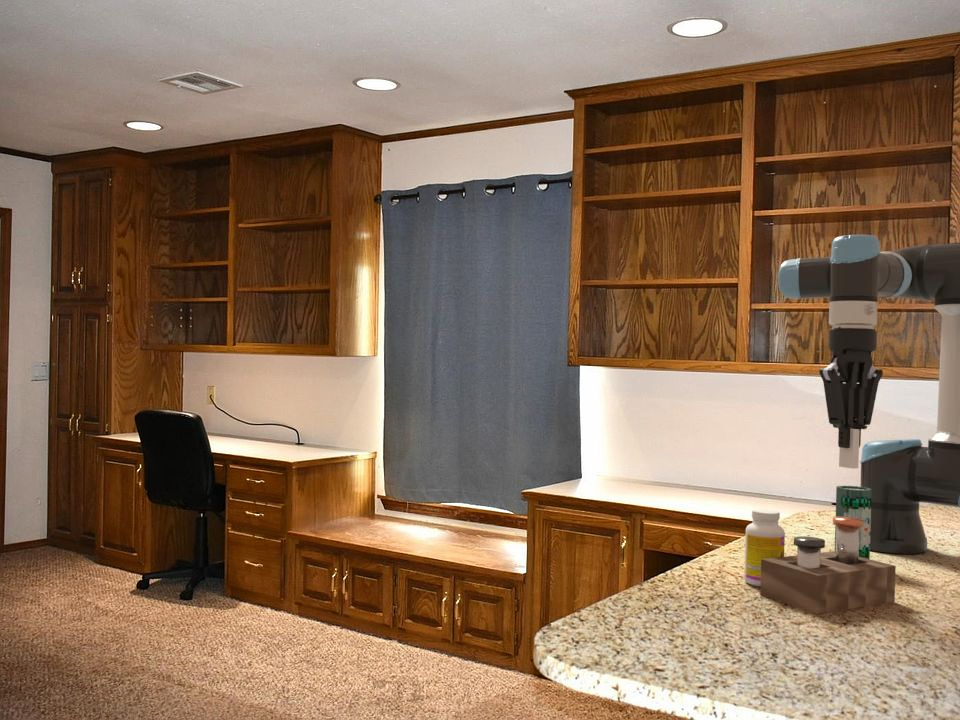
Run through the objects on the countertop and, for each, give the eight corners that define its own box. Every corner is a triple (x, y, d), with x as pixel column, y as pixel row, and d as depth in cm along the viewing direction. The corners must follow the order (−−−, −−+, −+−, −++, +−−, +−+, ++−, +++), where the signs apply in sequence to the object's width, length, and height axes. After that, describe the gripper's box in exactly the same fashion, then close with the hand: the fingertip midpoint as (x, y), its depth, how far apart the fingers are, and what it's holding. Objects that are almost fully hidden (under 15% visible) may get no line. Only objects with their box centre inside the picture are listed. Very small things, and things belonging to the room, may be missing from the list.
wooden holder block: (835, 584, 160) (836, 550, 160) (894, 602, 149) (895, 565, 149) (760, 594, 152) (761, 559, 152) (817, 614, 141) (818, 575, 141)
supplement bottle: (785, 589, 156) (787, 515, 155) (745, 586, 157) (747, 513, 157) (780, 580, 162) (782, 509, 162) (742, 577, 163) (744, 506, 163)
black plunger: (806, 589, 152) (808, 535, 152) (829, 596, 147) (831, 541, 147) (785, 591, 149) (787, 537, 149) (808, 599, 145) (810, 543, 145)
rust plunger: (844, 567, 156) (846, 515, 156) (868, 574, 152) (869, 520, 151) (825, 570, 154) (826, 517, 154) (848, 576, 149) (849, 522, 149)
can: (852, 569, 172) (854, 491, 172) (828, 562, 178) (830, 486, 178) (875, 567, 175) (878, 489, 175) (851, 560, 180) (853, 485, 180)
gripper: (843, 325, 146) (839, 471, 146) (898, 328, 152) (893, 468, 152) (807, 326, 152) (803, 466, 153) (860, 329, 159) (856, 463, 159)
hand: (848, 467), depth 152 cm, fingers closed
